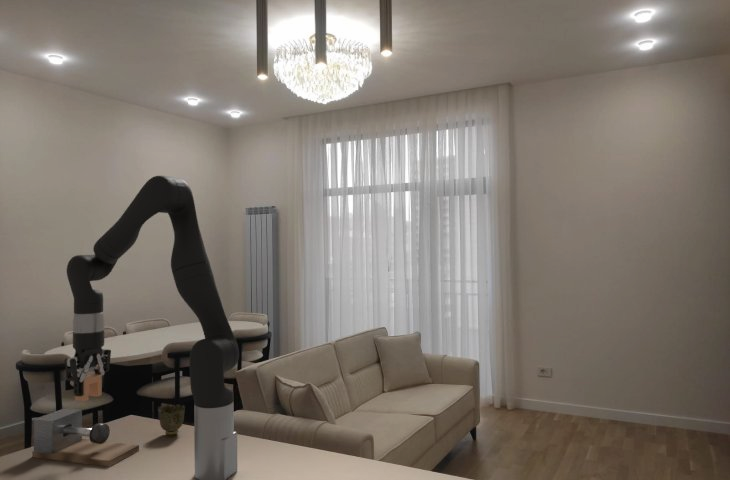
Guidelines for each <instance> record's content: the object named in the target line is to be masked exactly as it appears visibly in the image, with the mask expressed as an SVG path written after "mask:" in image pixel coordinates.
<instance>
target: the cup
mask: <svg viewBox="0 0 730 480" xmlns="http://www.w3.org/2000/svg"><path fill="white" fill-rule="evenodd" d="M185 408H186V405H184V404H183V405H182V404H178V403H177V404H176V405H174V404H172V405H170V404H166V405H165V406H164V405H162V406H161V408H158V410H157V411H158V418H159V425H160V427H161V429H162V430H164V431H165V432H164V434H165V436H166V437H173V436H174V437H175V436H177V435H178V433H179V429H180V428H181V427H182V426H183V423H184V419H185Z"/></svg>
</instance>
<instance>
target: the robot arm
mask: <svg viewBox="0 0 730 480" xmlns="http://www.w3.org/2000/svg"><path fill="white" fill-rule="evenodd" d="M159 213H163V214H168V217H169V219H170V222H171V226H172V230H173V235H174V241H173V246H172V252H171V257H170V269H171V273H172V277H173V280H174V283H175V286H176V290H177V292H178V294H179V295H180V297H181V298H182V300H183V301H184V303H186V305H187V306H188V307H189V309H191V311H192V312H193V313H194V314H195V316H196V318H197V319H198V321H199V323H200V325H201V328H202V332H203V336H204V338H203V339H200V340H198V341H196V342H195V343H194V345H193V346H192V348H191V350H190V353H189V363H188V364H189V384H190V391H191V394H192V396H193V401H194V404H193V405H194V409H193V412H194V420H193V421H194V423H193V424H194V429H193V430H194V478H195V479H196V480H227V479H228V478H230V477H231V476H233V475H234V474H235V473H236V472H237V471H238V432H237V431H235V428H234V427H235V426H234V425H235V424H234V423H235V422H234V421H235V420H234V418H235V417H234V416H235V415H234V410H235V409H234V408H235V406H234V405H235V404H234V400H235V399H234V398H235V397H234V396H235V395H234V390H233V389H232V388H231V387H228V386H226V384H225V374H224V373H226V372H227V371H230V370H232V369H233V368H235V367H236V365H237V364H238V362H239V358H240V349H239V345H238V341H237V339H236V337H235V334H234V332H233V329H232V327H231V325H230V323H229V321H228V318H227V315H226V312H225V310H224V307H223V303H222V300H221V297H220V294H219V291H218V287H217V284H216V281H215V277H214V273H213V269H212V267H211V263H210V260H209V257H208V254H207V251H206V248H205V244H204V240H203V237H202V233H201V230H200V225H199V221H198V216H197V211H196V205H195V200H194V196H193V192H192V189H191V187H190V185H189V184H188V183H187V182H186V181H185V180H183V179H181V178H177V177H173V176H167V175H155V176H153V177H150V178H149V179H148V180H146V182H145V183H144V185H143V186H142V187H141V189H140V190H139V191H138V193H137V194H136V195H135V196H134V197H133V199H132V201H131V202H130V204H128V206H127V208H126V209H125V210H124V212H123V214H121V216H120V218H119V219H118V220H117V221H116V222H114V224H113V225H112V226H111V227H110V228H109V229H108V230H106V232H104V234H103V235H102V236H101V237H100V238H99V239H97V241H96V242H94V245H93V250H92V251H93V253H94V254H79V255H78V254H77V255H74V256H72V257H71V258H70V260H69V261H68V263H67V266H66V277H67V280H68V284H69V287H70V289H71V293H72V297H73V319H72V348H73V349H74V350H75V352H74V355H73V357H70V358H69V357H66V358H65V359H64V367H65V368H64V369H65V370H64V371H65V375H66V377H65V378H66V381H68V382H72V383H73V395H74V397H75V396H83V382H82V381H83V379H84V376H86V374H87V373H88V371H89V370H90V369H91V370H92V372H93V374H101V375H102V387H104V375H105V373H107V372H109V371H110V364H111V356H112V350H111V349H107V348H104V349H103V348H102V347H104V345H105V315H104V295H103V292H102V291H100V290H98V289H93V287H92V284H91V282H95V281H101V280H103V279H105V278H106V277H108V276H109V275H110V274H111V272H112V271H113V269H114V268H115V265H116V264H117V262H118V260H119V259H121V257H122V256H123V255H125V254H126V253H127V252H128V251H129V250H130V249H131V248H132V247H133V245H134V244H135V243H136V241H137V240H138V238H139V235H140V234H139V233H140V231H141V228H142V227H143V226H144V224H145V223H146V222H147V221H148V220H149V219H151V218H152V217H154V216H155V215H157V214H159Z"/></svg>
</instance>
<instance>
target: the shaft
mask: <svg viewBox="0 0 730 480" xmlns="http://www.w3.org/2000/svg"><path fill="white" fill-rule="evenodd" d="M110 429H111V428H110V426H109V425H108V424H107V423H95V424H94V425H93V426H92V427H91V428H90V427H89V428H88V427H82V428H80V427H71V426H66V427H64V429H63V433H64V434H70V435H79V436H82V437H88V439H89V440H90V441H91V442H92V443H96V444H103V443H104V442H105V441H106V442H107V440H108V439H109V436H110V431H111V430H110Z"/></svg>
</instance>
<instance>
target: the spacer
mask: <svg viewBox="0 0 730 480" xmlns="http://www.w3.org/2000/svg"><path fill="white" fill-rule="evenodd" d="M82 382H83V396H75V395H74V397H75V398H74V399H75V400H74V401H76V402H86V401H87V402H88V401H89V399H90V398H89V397H96V398H97V397H100V396H102V395H103V394H102V392H103V390H102V389H103V386H102V375H101V374H94V373H91V374H88V375H85V376H84V379H83V381H82Z"/></svg>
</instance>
